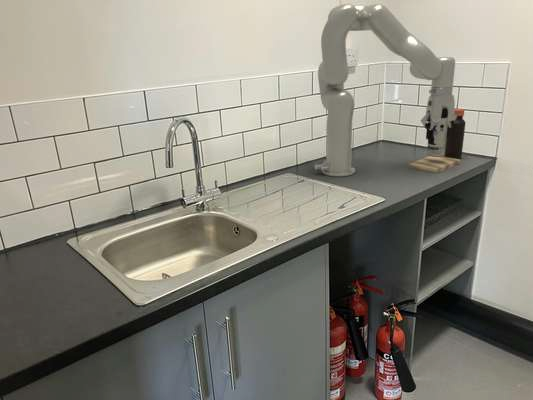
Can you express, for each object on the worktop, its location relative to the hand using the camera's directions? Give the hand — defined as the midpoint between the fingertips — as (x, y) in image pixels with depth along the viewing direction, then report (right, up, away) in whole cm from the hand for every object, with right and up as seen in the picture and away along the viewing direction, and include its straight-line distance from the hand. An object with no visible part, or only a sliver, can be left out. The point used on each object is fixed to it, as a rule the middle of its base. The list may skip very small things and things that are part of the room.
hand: (437, 138), depth 170 cm
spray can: (0, -6, +2) cm, 7 cm away
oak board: (0, -10, +4) cm, 11 cm away
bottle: (+12, -6, +13) cm, 19 cm away
